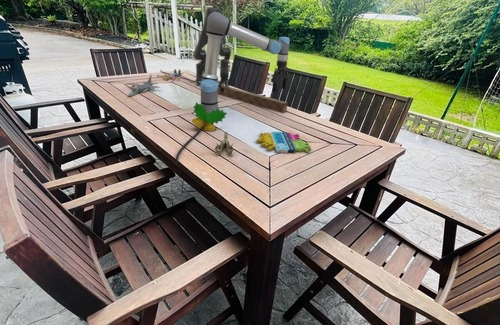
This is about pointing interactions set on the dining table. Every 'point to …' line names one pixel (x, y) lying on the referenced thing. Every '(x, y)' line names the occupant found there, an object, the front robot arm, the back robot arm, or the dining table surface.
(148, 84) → the airplane
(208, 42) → the front robot arm
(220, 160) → the dining table surface
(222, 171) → the dining table surface
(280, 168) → the dining table surface
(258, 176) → the dining table surface
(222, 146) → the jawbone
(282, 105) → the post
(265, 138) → the pack of gloves
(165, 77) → the toy
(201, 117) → the ornament
